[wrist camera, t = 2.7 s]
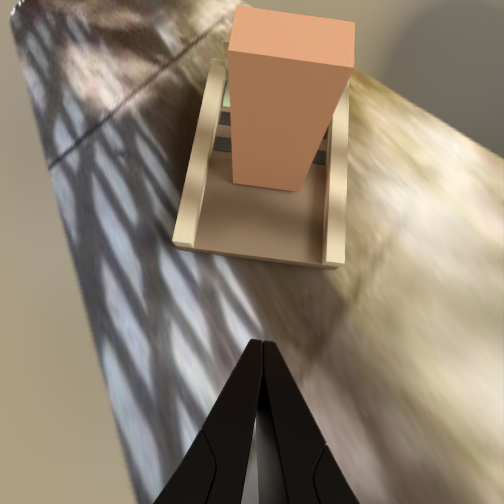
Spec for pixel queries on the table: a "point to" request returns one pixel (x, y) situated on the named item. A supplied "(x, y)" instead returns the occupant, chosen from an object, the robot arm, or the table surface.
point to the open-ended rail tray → (262, 193)
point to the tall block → (283, 92)
